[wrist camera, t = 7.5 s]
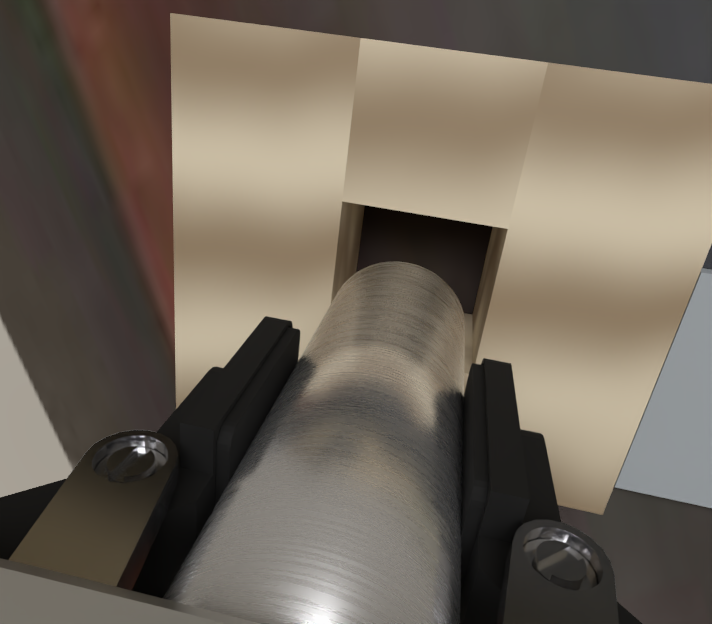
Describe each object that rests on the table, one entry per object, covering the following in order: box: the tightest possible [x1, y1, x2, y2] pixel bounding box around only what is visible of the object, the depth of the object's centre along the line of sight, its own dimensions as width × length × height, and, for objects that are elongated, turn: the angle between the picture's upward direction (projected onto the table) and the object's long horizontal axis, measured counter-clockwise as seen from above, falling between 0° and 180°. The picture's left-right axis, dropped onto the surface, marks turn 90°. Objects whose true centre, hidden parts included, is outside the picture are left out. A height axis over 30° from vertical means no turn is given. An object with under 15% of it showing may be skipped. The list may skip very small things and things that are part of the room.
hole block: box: [170, 13, 712, 515], centre depth 20 cm, size 14×16×5 cm
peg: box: [163, 262, 465, 624], centre depth 10 cm, size 4×4×12 cm
